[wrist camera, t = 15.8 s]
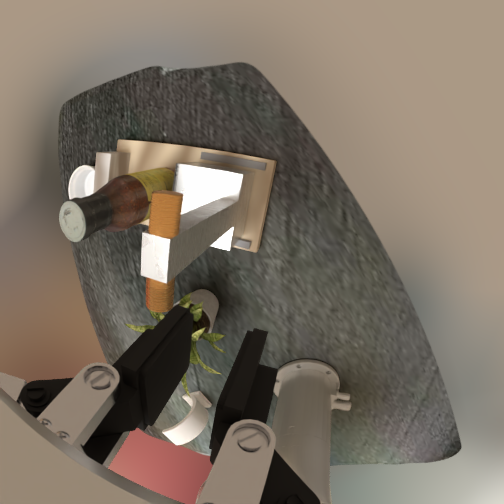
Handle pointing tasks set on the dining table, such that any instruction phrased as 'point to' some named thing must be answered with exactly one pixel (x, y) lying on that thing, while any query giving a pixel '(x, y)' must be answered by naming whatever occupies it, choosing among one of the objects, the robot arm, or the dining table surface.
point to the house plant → (195, 324)
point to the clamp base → (167, 155)
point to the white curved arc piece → (190, 420)
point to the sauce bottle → (114, 204)
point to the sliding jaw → (191, 223)
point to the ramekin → (82, 182)
